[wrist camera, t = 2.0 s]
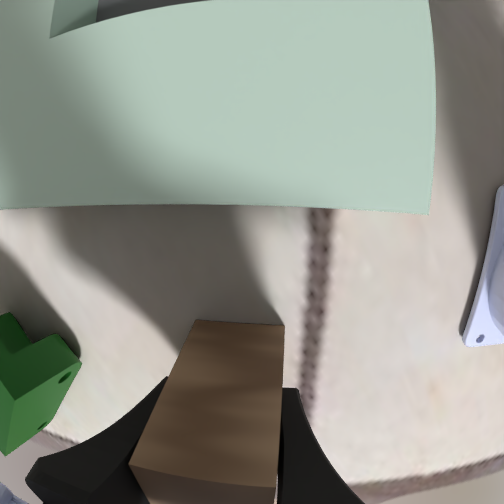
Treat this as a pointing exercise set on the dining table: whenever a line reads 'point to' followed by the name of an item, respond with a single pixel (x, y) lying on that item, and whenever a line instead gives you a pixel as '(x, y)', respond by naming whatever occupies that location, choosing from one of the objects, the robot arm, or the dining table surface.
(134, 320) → the dining table surface
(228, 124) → the well block
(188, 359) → the post
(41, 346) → the clamp
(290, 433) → the robot arm
